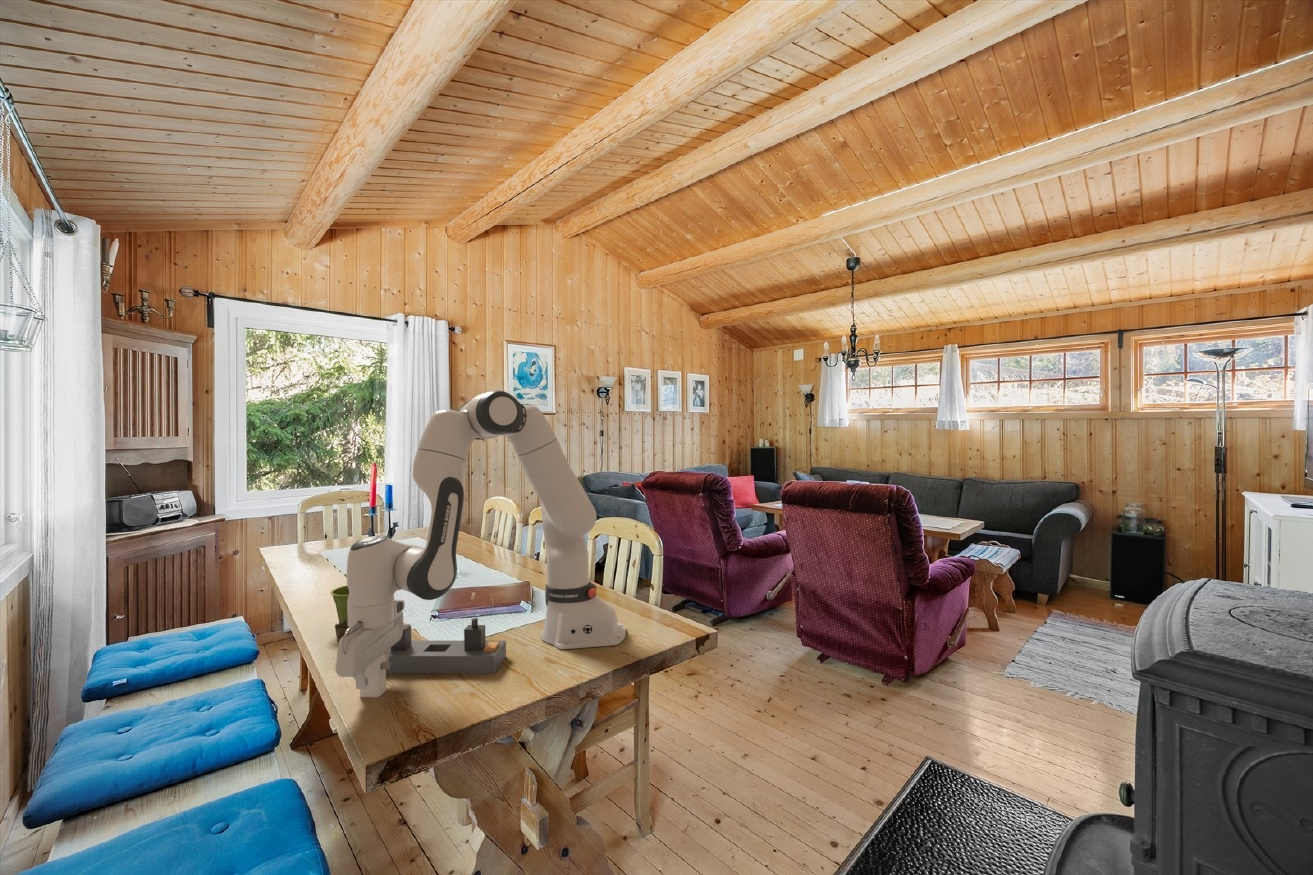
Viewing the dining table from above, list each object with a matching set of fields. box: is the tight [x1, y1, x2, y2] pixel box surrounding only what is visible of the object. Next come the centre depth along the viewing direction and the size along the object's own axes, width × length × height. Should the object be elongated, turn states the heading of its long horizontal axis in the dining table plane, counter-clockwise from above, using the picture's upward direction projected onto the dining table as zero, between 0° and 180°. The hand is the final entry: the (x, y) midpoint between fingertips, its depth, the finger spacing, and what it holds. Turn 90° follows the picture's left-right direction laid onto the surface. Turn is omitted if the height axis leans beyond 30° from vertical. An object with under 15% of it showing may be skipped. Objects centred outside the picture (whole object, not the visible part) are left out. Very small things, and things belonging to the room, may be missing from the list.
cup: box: [334, 620, 350, 644], centre depth 138 cm, size 8×7×8 cm
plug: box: [359, 654, 391, 698], centre depth 118 cm, size 6×3×8 cm, turn 89°
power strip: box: [386, 617, 507, 674], centre depth 131 cm, size 30×9×11 cm, turn 89°
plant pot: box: [330, 584, 349, 623], centre depth 155 cm, size 12×12×11 cm
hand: (372, 678), depth 118 cm, fingers open, 7 cm apart
